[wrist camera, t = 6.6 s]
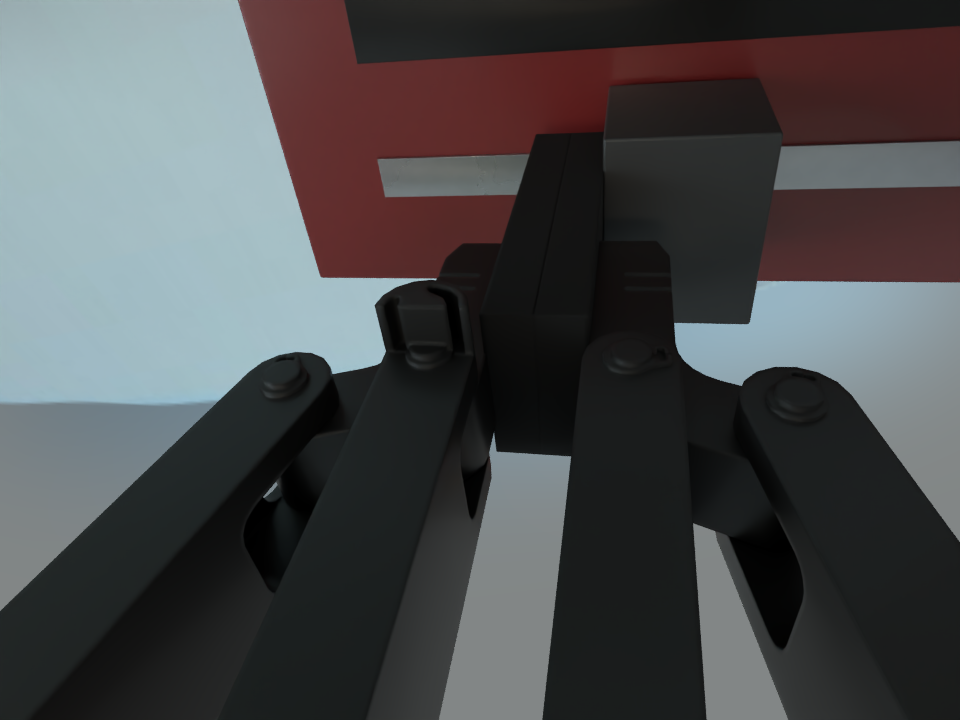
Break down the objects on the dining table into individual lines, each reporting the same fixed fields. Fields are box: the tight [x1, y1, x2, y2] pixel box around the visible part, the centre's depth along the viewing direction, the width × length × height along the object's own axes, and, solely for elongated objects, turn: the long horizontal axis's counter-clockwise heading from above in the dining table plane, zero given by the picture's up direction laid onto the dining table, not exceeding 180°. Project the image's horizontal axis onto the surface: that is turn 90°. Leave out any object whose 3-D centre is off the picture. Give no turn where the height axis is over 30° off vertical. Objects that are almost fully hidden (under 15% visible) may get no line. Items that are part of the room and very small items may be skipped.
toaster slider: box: [603, 78, 783, 324], centre depth 14 cm, size 3×4×3 cm
